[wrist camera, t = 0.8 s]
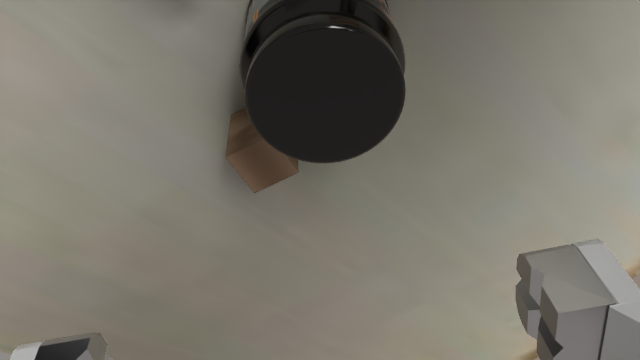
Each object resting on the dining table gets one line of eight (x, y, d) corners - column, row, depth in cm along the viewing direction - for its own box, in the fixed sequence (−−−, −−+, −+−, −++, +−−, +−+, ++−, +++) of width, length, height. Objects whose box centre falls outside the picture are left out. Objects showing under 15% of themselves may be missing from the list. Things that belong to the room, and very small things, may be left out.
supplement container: (414, 28, 45) (447, 111, 36) (306, 104, 49) (310, 197, 39) (331, -87, 40) (345, -25, 30) (216, 8, 43) (197, 89, 34)
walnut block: (272, 94, 48) (271, 135, 43) (296, 129, 50) (298, 172, 46) (231, 115, 49) (225, 157, 45) (257, 149, 51) (254, 193, 47)
